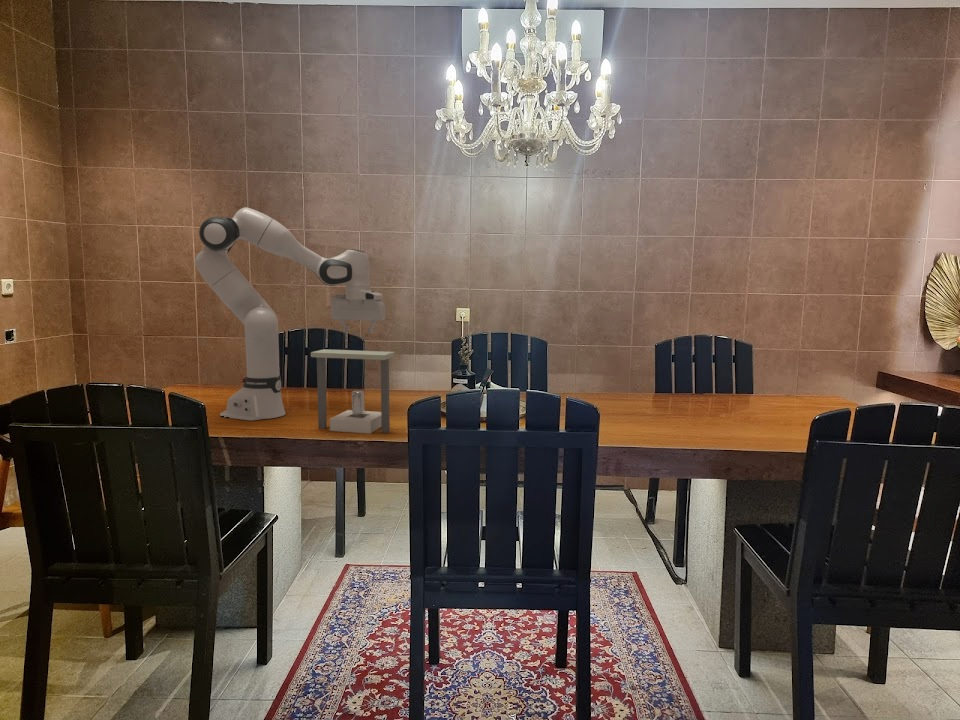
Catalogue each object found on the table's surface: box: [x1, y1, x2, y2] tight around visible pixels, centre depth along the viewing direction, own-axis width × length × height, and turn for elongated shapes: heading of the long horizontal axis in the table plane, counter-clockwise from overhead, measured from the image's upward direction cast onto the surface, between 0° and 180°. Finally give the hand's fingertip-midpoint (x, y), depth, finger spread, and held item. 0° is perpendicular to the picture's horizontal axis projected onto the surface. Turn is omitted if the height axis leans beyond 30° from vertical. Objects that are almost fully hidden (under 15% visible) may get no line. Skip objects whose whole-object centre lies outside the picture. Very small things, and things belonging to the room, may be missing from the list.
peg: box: [351, 390, 365, 418], centre depth 212 cm, size 4×4×12 cm
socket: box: [329, 409, 382, 434], centre depth 213 cm, size 14×14×4 cm
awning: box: [310, 349, 396, 434], centre depth 208 cm, size 25×9×26 cm, turn 77°
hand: (358, 332), depth 235 cm, fingers open, 8 cm apart
